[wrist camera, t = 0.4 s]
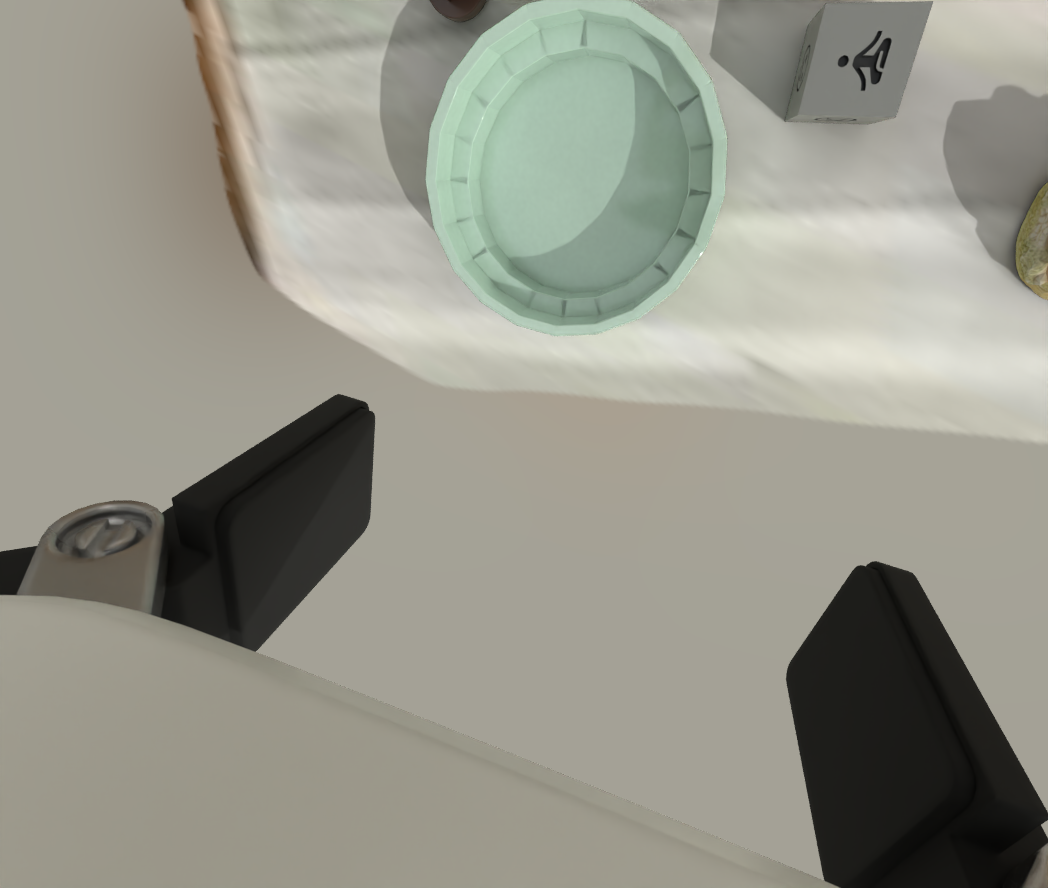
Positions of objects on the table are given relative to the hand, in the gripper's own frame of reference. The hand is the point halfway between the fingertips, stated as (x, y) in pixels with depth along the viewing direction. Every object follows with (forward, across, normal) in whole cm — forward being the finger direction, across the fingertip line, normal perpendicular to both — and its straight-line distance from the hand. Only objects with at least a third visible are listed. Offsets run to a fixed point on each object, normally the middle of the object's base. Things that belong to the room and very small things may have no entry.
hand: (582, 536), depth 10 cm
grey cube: (+35, -7, -13) cm, 38 cm away
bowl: (+35, +8, -4) cm, 36 cm away
